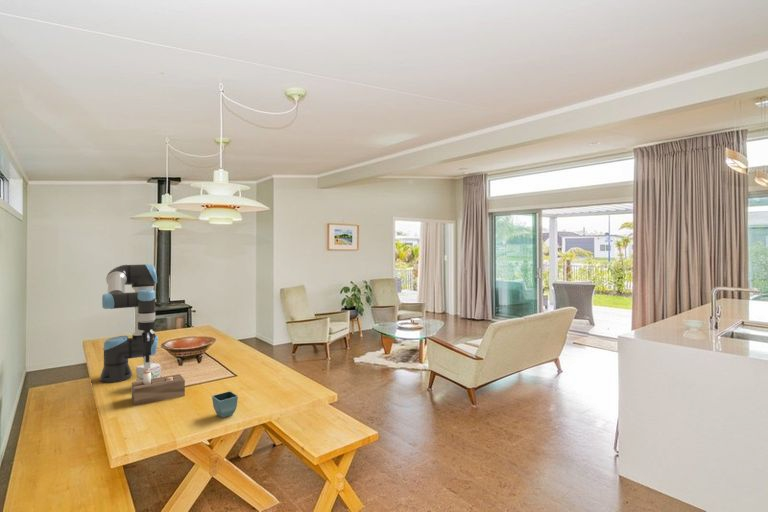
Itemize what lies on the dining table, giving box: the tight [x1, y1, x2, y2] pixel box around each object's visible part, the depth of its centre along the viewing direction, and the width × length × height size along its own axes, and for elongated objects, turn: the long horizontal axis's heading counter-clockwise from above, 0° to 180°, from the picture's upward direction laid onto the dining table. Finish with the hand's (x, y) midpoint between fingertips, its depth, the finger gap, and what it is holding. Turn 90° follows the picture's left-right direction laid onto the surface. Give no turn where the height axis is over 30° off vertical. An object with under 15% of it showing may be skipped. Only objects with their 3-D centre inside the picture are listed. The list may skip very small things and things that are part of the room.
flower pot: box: [211, 390, 239, 419], centre depth 186 cm, size 9×9×9 cm
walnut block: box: [131, 373, 186, 407], centre depth 206 cm, size 12×22×8 cm, turn 127°
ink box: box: [135, 362, 162, 382], centre depth 220 cm, size 8×8×12 cm
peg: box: [143, 370, 151, 385], centre depth 203 cm, size 3×3×8 cm
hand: (147, 368), depth 203 cm, fingers closed
